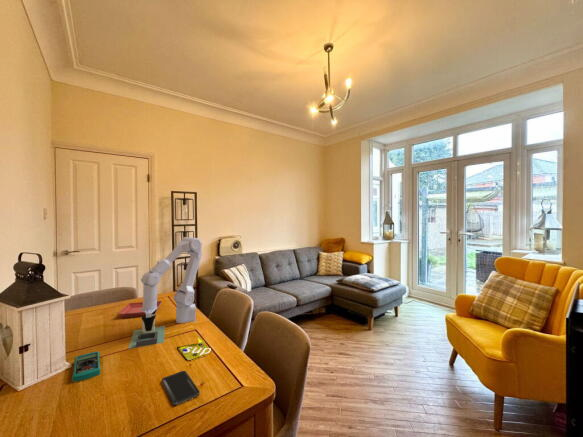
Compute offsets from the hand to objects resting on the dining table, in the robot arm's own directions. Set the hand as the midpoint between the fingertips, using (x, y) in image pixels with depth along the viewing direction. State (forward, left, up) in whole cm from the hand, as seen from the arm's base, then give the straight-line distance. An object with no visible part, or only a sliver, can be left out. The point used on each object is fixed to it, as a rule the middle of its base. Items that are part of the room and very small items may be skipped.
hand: (149, 327), depth 117 cm
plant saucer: (+6, -32, -3) cm, 33 cm away
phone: (-12, +46, -3) cm, 48 cm away
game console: (-18, +22, -4) cm, 28 cm away
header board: (0, +5, -3) cm, 6 cm away
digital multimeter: (+18, +22, -4) cm, 29 cm away
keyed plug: (0, 0, -2) cm, 2 cm away
